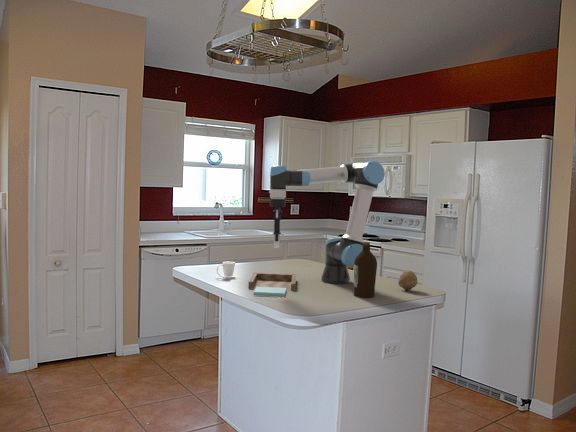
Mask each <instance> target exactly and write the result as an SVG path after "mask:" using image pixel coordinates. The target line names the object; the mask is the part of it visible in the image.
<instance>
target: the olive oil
mask: <svg viewBox="0 0 576 432" xmlns="http://www.w3.org/2000/svg"><path fill="white" fill-rule="evenodd" d="M377 269H378V260H377V258H376V257H375V255H374V254H373V253H372V252H371V242H370V241H364V242H363V250H362V251H361V252H360V253H359V254H358V255H357V256H356V258H355V261H354V267H353V296H354V297H358V298H363V299H364V298H365V299H369V298H370V299H372V298H374V297H375V291H376V290H375V289H376V280H377V279H376V278H377V271H378V270H377Z"/></svg>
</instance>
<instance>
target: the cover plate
mask: <svg viewBox="0 0 576 432" xmlns="http://www.w3.org/2000/svg"><path fill="white" fill-rule="evenodd" d="M286 292H287V290H286V288H275V287H256V288H255V289H253V296H257V297H263V298H272V296H273V297H284V298H283V299H285V298H286Z"/></svg>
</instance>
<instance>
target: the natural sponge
mask: <svg viewBox="0 0 576 432" xmlns="http://www.w3.org/2000/svg"><path fill="white" fill-rule="evenodd" d="M397 282H398V286H399V287H400V288H402V289H403V290H404V291H411V290H412V289H413V288H415V287H417V285H418V282H419V281H418V277H417V275H416V274H415V272H413V271H412V270H405V271H403V272H402V273H401V275H400V277H399V279H398V281H397Z"/></svg>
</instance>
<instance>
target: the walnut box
mask: <svg viewBox="0 0 576 432" xmlns="http://www.w3.org/2000/svg"><path fill="white" fill-rule="evenodd" d="M296 283H297V274H293V273H269V272H253V274H252V275H251V276H250V279H249V280H248V287H247V289H250V290H251V289H252V290H255V288H256V287H275V288H286V291H294V292H295V291H296Z"/></svg>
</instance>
